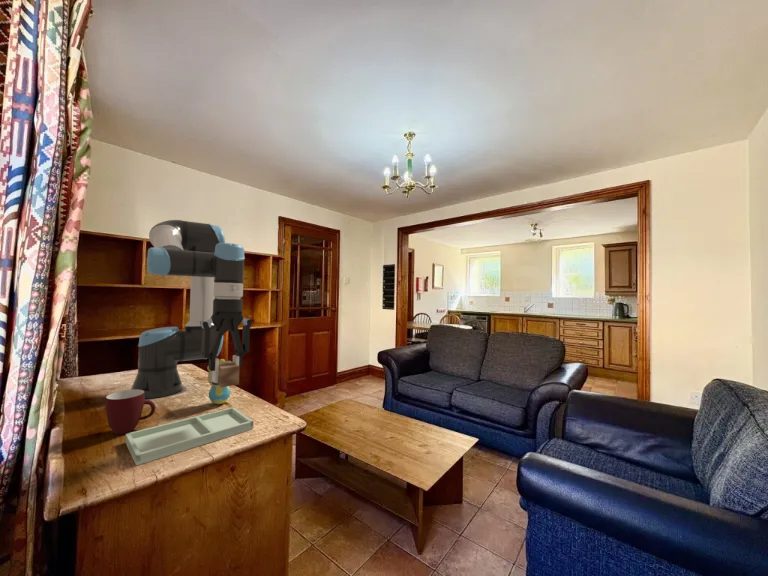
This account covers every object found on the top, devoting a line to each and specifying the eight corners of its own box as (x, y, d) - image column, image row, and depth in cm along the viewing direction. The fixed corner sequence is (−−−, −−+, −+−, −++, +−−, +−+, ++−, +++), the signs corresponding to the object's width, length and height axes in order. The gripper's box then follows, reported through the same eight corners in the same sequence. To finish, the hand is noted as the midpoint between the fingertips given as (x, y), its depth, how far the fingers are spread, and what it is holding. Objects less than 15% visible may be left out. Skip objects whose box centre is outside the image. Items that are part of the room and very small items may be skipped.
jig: (125, 442, 77) (125, 433, 77) (233, 414, 96) (233, 407, 96) (136, 465, 68) (136, 455, 68) (253, 428, 87) (253, 421, 87)
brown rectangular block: (221, 387, 83) (221, 368, 83) (212, 380, 89) (213, 362, 89) (238, 384, 86) (239, 366, 86) (229, 377, 92) (229, 360, 92)
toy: (204, 410, 98) (205, 363, 98) (207, 400, 107) (209, 357, 107) (231, 407, 102) (233, 361, 102) (232, 398, 110) (234, 356, 110)
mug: (153, 420, 90) (154, 386, 90) (155, 430, 84) (157, 393, 84) (104, 429, 83) (106, 392, 83) (103, 441, 77) (105, 401, 77)
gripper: (197, 298, 79) (194, 390, 79) (264, 298, 92) (261, 377, 92) (188, 297, 84) (185, 383, 84) (253, 297, 97) (250, 372, 97)
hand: (225, 379), depth 88 cm, fingers closed on brown rectangular block, 5 cm apart
